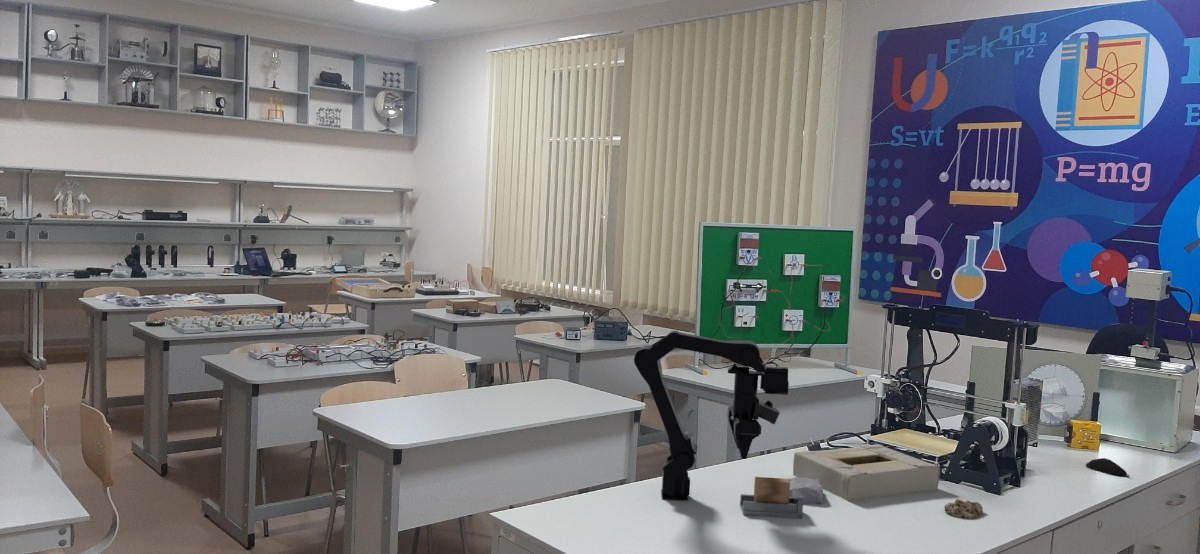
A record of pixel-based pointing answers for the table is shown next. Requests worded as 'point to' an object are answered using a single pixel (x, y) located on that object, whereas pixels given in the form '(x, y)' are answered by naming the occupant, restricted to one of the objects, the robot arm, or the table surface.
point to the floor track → (773, 506)
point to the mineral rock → (964, 509)
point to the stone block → (807, 489)
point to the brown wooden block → (771, 490)
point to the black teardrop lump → (1106, 467)
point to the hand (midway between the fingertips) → (741, 453)
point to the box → (866, 471)
